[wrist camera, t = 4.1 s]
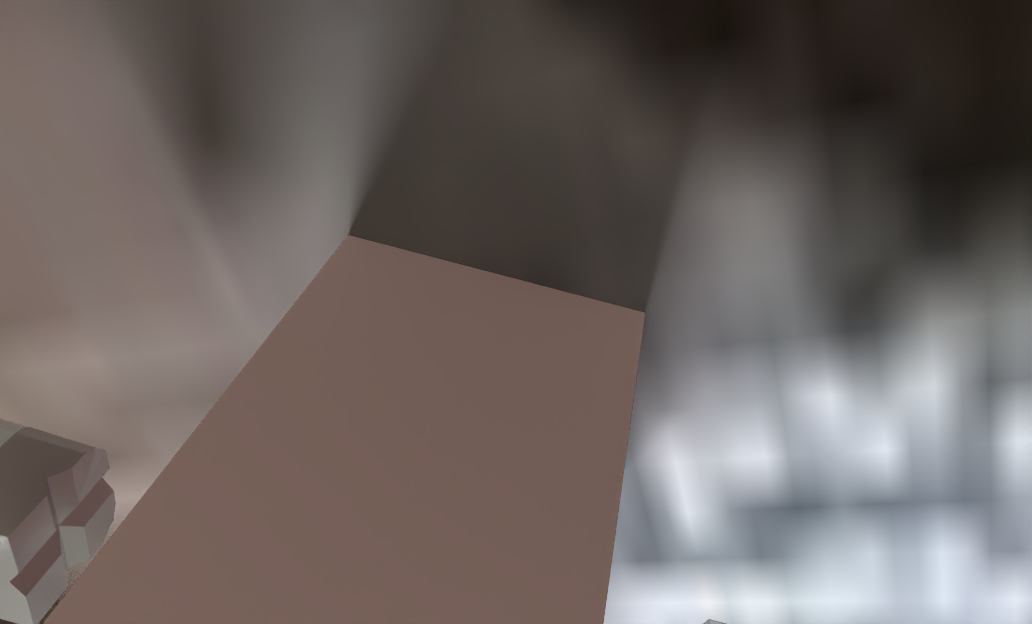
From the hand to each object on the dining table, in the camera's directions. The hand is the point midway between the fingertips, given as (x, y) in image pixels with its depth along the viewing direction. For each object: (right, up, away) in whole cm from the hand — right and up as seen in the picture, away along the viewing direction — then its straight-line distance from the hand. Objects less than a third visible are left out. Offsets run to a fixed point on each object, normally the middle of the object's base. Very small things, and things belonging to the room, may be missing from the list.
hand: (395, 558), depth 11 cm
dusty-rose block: (+1, +2, +3) cm, 4 cm away
